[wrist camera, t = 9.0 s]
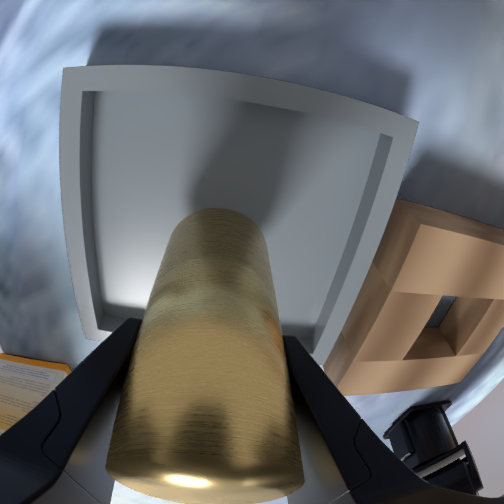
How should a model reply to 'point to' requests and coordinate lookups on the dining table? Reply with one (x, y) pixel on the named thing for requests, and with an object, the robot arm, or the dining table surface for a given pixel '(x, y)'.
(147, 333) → the brass pin
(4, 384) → the supplement box
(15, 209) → the dining table surface
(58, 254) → the dining table surface
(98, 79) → the tray
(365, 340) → the pin block
